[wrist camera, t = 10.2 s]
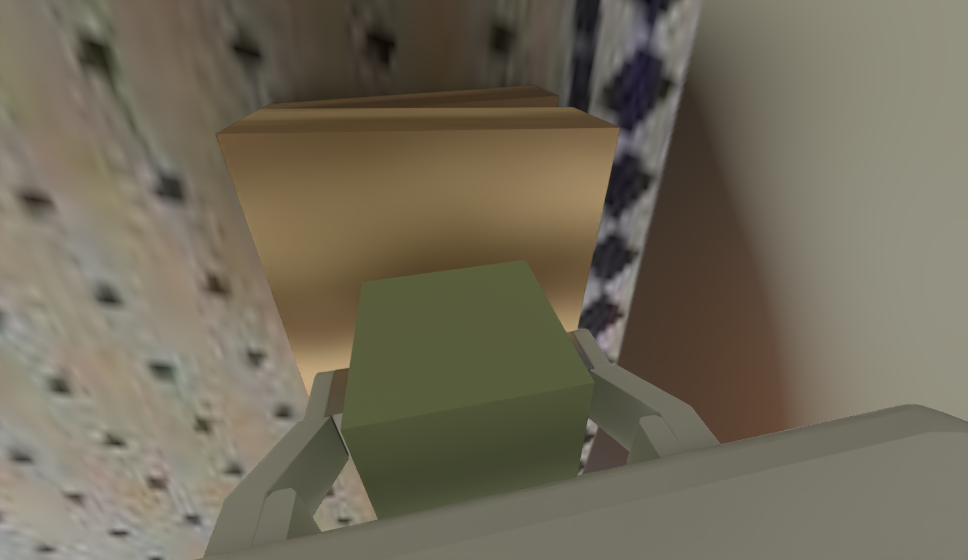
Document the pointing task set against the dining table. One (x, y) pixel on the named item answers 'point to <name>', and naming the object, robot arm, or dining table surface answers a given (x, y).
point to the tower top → (413, 205)
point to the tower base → (439, 100)
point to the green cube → (461, 388)
